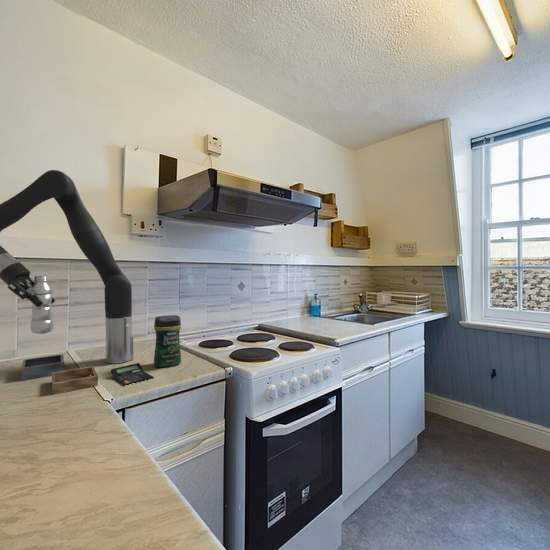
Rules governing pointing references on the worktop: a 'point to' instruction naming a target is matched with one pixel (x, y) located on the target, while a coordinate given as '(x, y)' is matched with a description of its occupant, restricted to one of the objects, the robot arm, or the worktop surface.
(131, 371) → the calculator
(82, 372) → the wooden square tray
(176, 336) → the coffee jar
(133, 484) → the worktop surface
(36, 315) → the silver metal bottle
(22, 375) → the gray square tray
